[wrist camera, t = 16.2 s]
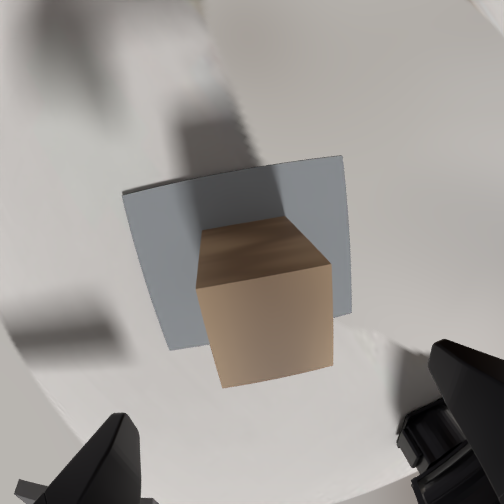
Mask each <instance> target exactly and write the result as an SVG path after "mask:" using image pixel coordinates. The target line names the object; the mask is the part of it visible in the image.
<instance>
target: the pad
mask: <svg viewBox="0 0 504 504" xmlns="http://www.w3.org/2000/svg"><path fill="white" fill-rule="evenodd" d="M122 198H123V203H124V207H125V211H126V215H127V219H128V223H129V226H130V230H131V234H132V238H133V241H134V245H135V248H136V252H137V255H138V259H139V262H140V265H141V269H142V272H143V275H144V278H145V282H146V285H147V288H148V291H149V294H150V297H151V300H152V303H153V306H154V309H155V312H156V315H157V318H158V320H159V323H160V326H161V329H162V332H163V334H164V337H165V340H166V342H167V345H168V348H169V350H177V349H184V348H190V347H196V346H202V345H208V344H210V343H209V339H208V336H207V332H206V328H205V324H204V321H203V317H202V313H201V309H200V305H199V301H198V297H197V293H196V280H197V270H198V261H199V252H200V243H201V235H202V230H206V229H212V228H218V227H223V226H229V225H235V224H240V223H246V222H252V221H258V220H264V219H270V218H276V217H282V216H286V217H287V218H288V219H289V220H290V221H291V222H292V223H293V224H294V225H295V226H296V227H297V228H298V230H299V231H300V232H301V233H302V234H303V235H304V236H305V237H306V238H307V239H308V240H309V241H310V242H311V243H312V244H313V245H314V246H315V247H316V248H317V249H318V250H319V251H320V252H321V253H322V254H323V255H324V257H325V258H326V259H327V260H328V261H329V262H330V263H331V264H332V289H333V318H335V317H339V316H342V315H346V314H350V313H352V301H351V300H352V298H351V297H352V296H351V259H350V238H349V223H348V208H347V196H346V185H345V175H344V165H343V157H342V156H341V155H340V156H332V157H324V158H315V159H308V160H300V161H293V162H287V163H280V164H273V165H266V166H260V167H254V168H248V169H242V170H237V171H231V172H226V173H220V174H215V175H210V176H205V177H200V178H195V179H190V180H186V181H181V182H176V183H172V184H167V185H163V186H159V187H154V188H150V189H146V190H142V191H138V192H134V193H130V194H126V195H123V196H122Z"/></svg>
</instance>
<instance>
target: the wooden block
mask: <svg viewBox="0 0 504 504" xmlns="http://www.w3.org/2000/svg"><path fill="white" fill-rule="evenodd" d="M196 293H197V297H198V301H199V305H200V309H201V313H202V317H203V321H204V324H205V328H206V332H207V336H208V339H209V343H210V347H211V350H212V354H213V357H214V361H215V364H216V368H217V371H218V375H219V378H220V382H221V385H222V388H228V387H234V386H240V385H246V384H252V383H257V382H262V381H267V380H272V379H277V378H282V377H287V376H291V375H296V374H300V373H305V372H309V371H313V370H317V369H321V368H325V367H329V366H333V289H332V264H331V263H330V262H329V261H328V260H327V259H326V258H325V257H324V255H323V254H322V253H321V252H320V251H319V250H318V249H317V248H316V247H315V246H314V245H313V244H312V243H311V242H310V241H309V240H308V239H307V238H306V237H305V236H304V235H303V234H302V233H301V232H300V231H299V230H298V228H297V227H296V226H295V225H294V224H293V223H292V222H291V221H290V220H289V219H288V218H287V217H286V216H282V217H276V218H270V219H264V220H258V221H252V222H246V223H240V224H235V225H229V226H223V227H218V228H212V229H206V230H202V235H201V243H200V252H199V261H198V270H197V280H196Z"/></svg>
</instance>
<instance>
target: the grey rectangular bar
mask: <svg viewBox="0 0 504 504" xmlns="http://www.w3.org/2000/svg"><path fill="white" fill-rule="evenodd" d="M47 487H48V486H44V485H40V484H36V483H32V482H28V481H24V480H21V479H19V481H18V484H17V487H16V490H15V493H14V494H15V495H16V496H17V497H18V498H20V499H21V500H22V501H23V502H25V503H26V504H33V503H34V502H35V501H36V500H37V498H38V497H39V496H40V495H41V494H42V493H43V492H45V490H46V488H47ZM140 504H159V503H157V502H156V501H155V500H154V499H153V498H140Z"/></svg>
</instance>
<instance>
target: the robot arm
mask: <svg viewBox="0 0 504 504" xmlns="http://www.w3.org/2000/svg"><path fill="white" fill-rule="evenodd" d="M428 367H429V370H430V372H431V374H432V376H433V378H434V380H435V382H436V384H437V386H438V389H439V391H440V393H441V395H442V397H443V398H442V399H440V400H438V401H436V402H434V403H432V404H430V405H428V406H425V407H423V408H421V409H419V410H417V411H414V412H412V413H410V414H408V415H407V416H406V418H405V421H404V425H403V428H402V431H401V434H400V437H399V440H398V443H397V447H398V448H401V450H402V452H403V454H404V455H405V457H406V459H407V461H408V463H409V464H410V466H411V467H412V468H415V467H416V468H417V470H418V471H419V473H420V475H419V476H417V477H415V478H413V479H412V480H411V482H412V485H411V486H412V488H413V490H414V493H415V495H416V498H417V501H418V504H504V360H502V359H499V358H497V357H494V356H491V355H488V354H486V353H483V352H480V351H477V350H474V349H472V348H469V347H466V346H463V345H460V344H458V343H455V342H452V341H450V340H447V339H442V340H440V341H437V342H435V343H434V344H433V345H432V349H431V353H430V358H429V362H428ZM140 498H141V463H140V437H139V432H138V430H137V428H136V426H135V425H134V423H133V422H132V420H131V419H130V417H129V416H128V414H126V413H113V414H111V415H110V417H109V418H108V419H107V420H106V421H105V422H104V423H103V425H102V426H101V427H100V428H99V429H98V430H97V431H96V433H95V434H94V435H93V436H92V437H91V438H90V439H89V441H88V442H87V443H86V444H85V445H84V446H83V447H82V449H81V450H80V451H79V452H78V453H77V454H76V455H75V456H74V458H73V459H72V460H71V461H70V462H69V463H68V464H67V466H66V467H65V468H64V469H63V470H62V471H61V473H60V474H59V475H58V476H57V477H56V478H55V479H54V481H53V482H52V483H51V484H50V485H49V486H48V487H47V488H46V490H45V492H43V493H42V494H41V495H40V496H39V497H38V498H37V500H36V501H35V502H34V503H33V504H140Z"/></svg>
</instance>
